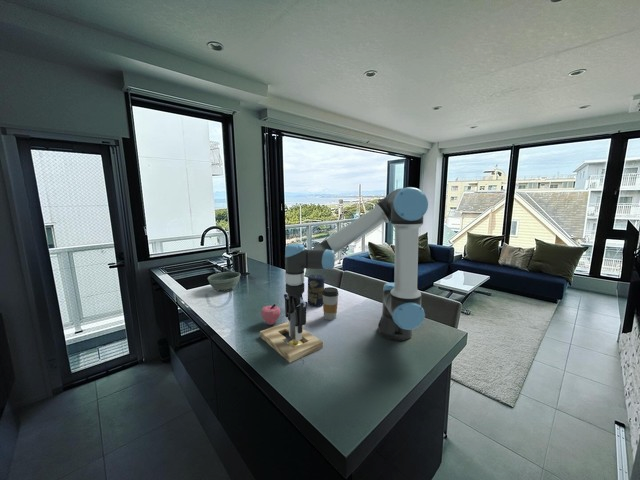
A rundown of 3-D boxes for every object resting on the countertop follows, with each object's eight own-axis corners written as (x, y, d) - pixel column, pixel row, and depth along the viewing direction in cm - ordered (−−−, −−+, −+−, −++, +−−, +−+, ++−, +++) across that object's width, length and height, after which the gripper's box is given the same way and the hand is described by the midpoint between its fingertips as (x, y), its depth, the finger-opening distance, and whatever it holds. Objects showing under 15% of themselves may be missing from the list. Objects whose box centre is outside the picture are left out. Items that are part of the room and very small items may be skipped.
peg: (305, 346, 108) (305, 314, 106) (293, 351, 104) (293, 318, 102) (297, 340, 113) (297, 309, 110) (285, 345, 109) (285, 313, 107)
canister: (304, 306, 149) (304, 275, 147) (311, 300, 158) (311, 271, 155) (320, 308, 146) (320, 277, 143) (326, 302, 155) (326, 273, 152)
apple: (274, 317, 134) (273, 299, 133) (284, 323, 128) (284, 304, 127) (258, 323, 128) (257, 304, 126) (267, 330, 122) (267, 309, 120)
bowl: (235, 295, 166) (234, 280, 164) (202, 295, 166) (201, 279, 164) (245, 284, 186) (244, 271, 185) (215, 284, 186) (215, 271, 185)
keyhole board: (322, 347, 107) (322, 341, 107) (289, 362, 97) (289, 356, 97) (290, 326, 126) (290, 320, 125) (260, 336, 116) (259, 331, 115)
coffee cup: (337, 321, 130) (337, 293, 128) (320, 320, 132) (320, 291, 130) (339, 314, 138) (339, 287, 136) (323, 313, 140) (323, 286, 138)
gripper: (315, 286, 100) (315, 342, 104) (291, 276, 113) (291, 326, 117) (299, 290, 95) (299, 349, 99) (275, 279, 108) (277, 332, 112)
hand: (295, 337), depth 108 cm, fingers closed on peg, 4 cm apart
